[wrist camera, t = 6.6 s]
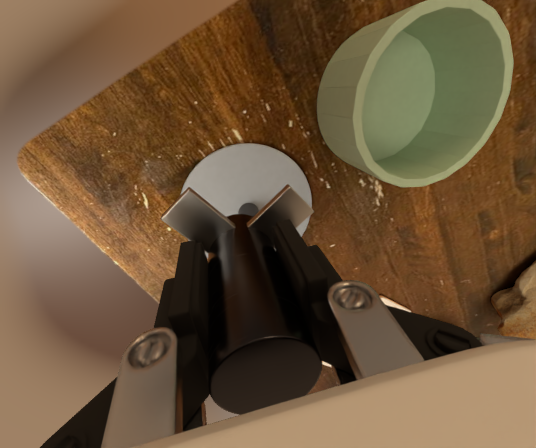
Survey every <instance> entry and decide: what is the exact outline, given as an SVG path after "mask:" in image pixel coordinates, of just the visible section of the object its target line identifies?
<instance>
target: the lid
mask: <svg viewBox="0 0 536 448" xmlns="http://www.w3.org/2000/svg"><path fill="white" fill-rule="evenodd" d="M287 184H289V185H290V186H291V187H292V188H293V189H294V190H295V191H296V192H297V194H298V195H299V196H300V197H301V198H302V199H303V200H304V201H305V202H306V203H307V204H308V205H309V206H310V207H311V208H312V198H311V191H310V187H309V184H308V181H307V179H306V177H305V175H304V173H303V172H302V170H301V169H300V168H299V166H298V165H297V164H296V163H295V162H294V161H293V160H292V159H291V158H290V157H288V156H287V155H285V154H284V153H282V152H280V151H278V150H276V149H274V148H272V147H269V146H266V145H261V144H254V143H243V144H235V145H230V146H227V147H224V148H221V149H219V150H217V151H215V152H213V153H211V154H210V155H208V156H207V157H205V158H204V159H203V160H202V161H201V162H199V163H198V164H197V165H196V166H195V168H194V169H193V170H192V171H191V173H190V174H189V176H188V178H187V179H186V181H185V184H184V186H183V189H182V192H181V194H182V193H183V192H184V191H185V190H186V189H187V188H188V187H190V188H192V189H193V190H194V191H195V192H196V193H198V194H199V195H200V196H201V197H202V198H204V199H205V200H206V201H207V202H209V203H210V204H211V205H212V206H213V207H215V208H216V209H217V210H218V211H219V212H221V213H222V214H223V215H224V216H225V217H227V216H230V215H234V214H246V215H250V216H253V217H254V216H255V215H256V214H257V213H258V212H259V211H260V210H261V209H262V208H263V207H264V206H265V205H266V204H267V203H268V202H269V201H270V200H271V199H272V198H273V197H274V196H275V195H277V194H278V193H279V192H280V191H281V190H282V189H283V188H284V187H285V186H286V185H287ZM309 219H310V216H309V217H308V218H307V219H306V220H304V221H303V222H302V223H301V224H300V225H299V226H298V227H297V228H296V230H297V231H298V233H299V234H300V236H301V237H302V235H303V233H304V231H305V230H306V227H307V225H308V222H309ZM188 240H189V239H188ZM189 241H190V240H189ZM274 249H275V248H274ZM205 254H206V257H207V258H208V253H207V252H205Z"/></svg>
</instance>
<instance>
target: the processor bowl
mask: <svg viewBox="0 0 536 448" xmlns="http://www.w3.org/2000/svg"><path fill="white" fill-rule="evenodd" d="M508 33H509V32H508V30H507V29H506V27H505V25H504V23H503V22H502V20H501V18H500V16H499V15H498V13H497V11H496V10H495V9H494V8H492V7H491V6H489V5H488V4H486V3H485V2H483V1H482V0H427V1H424V2H421V3H419V4H416V5H414V6H412V7H409V8H407V9H405V10H402V11H400V12H398V13H395V14H393V15H391V16H388V17H386V18H384V19H381V20H379V21H377V22H374V23H372V24H370V25H367V26H365V27H363V28H362V29H360V30H359V31H357V32H356V33H355V34H353V35H352V36H350V37H349V38H348V39H347V40H346V41H345V42H344V43H343V44H342V45H341V46H340V47H339V49H338V50H337V51H336V52H335V54H334V55H333V57H332V58H331V60H330V61H329V63H328V65H327V67H326V69H325V71H324V74H323V77H322V79H321V83H320V86H319V90H318V97H317V118H318V124H319V128H320V131H321V134H322V137H323V139H324V140H325V142H326V144H327V145H328V147H329V148H330V150H331V151H332V152H333V153H334V154H335V155H336V156H338V157H339V158H340V159H342V160H343V161H344V162H346V163H348V164H350V165H352V166H354V167H356V168H358V169H360V170H362V171H364V172H366V173H368V174H370V175H372V176H374V177H376V178H378V179H380V180H382V181H384V182H387V183H390V184H393V185H396V186H399V187H420V186H426V185H429V184H431V183H434V182H437V181H439V180H442V179H445V178H446V177H448V176H449V175H451V174H452V173H454V172H455V171H456V170H458V169H459V168H461V167H462V166H464V165H465V164H466V163H467V162H468V161H469V160H470V159H471V158H472V157H473V156H474V155H475V154H476V153H477V152H478V151H479V150H480V148H481V147H482V146H483V145H484V144H485V143H486V141H487V139H488V138H489V136H490V135H491V133H492V131H493V130H494V128H495V126H496V125H497V123H498V121H499V120H500V118H501V115H502V112H503V110H504V107H505V104H506V101H507V98H508V96H509V93H510V89H511V80H512V71H513V63H514V61H513V54H512V48H511V42H510V35H509V34H508Z"/></svg>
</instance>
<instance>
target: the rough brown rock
mask: <svg viewBox="0 0 536 448" xmlns="http://www.w3.org/2000/svg"><path fill="white" fill-rule="evenodd" d="M491 303H492V305H493V307H494V308H495V310H496V311H497V313H498V315H499V316H500V317H501V323H500V325H499V327H498V328H497V329H498V331H499V332H500V334H501V335H502V336H510V337H520V338H529V339H536V261H535V262H534V263H533V264H532V265H531V266H530V267H528V268H527V269H526V270H524V271H523V272H522V273H521V275H520V276H519V278H518V279H517V280H516V282H515V285H514V287H512V288H509V289H505V290H501V291H499V292H497V293H496V294H494V295H493V296H492V297H491Z"/></svg>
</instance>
